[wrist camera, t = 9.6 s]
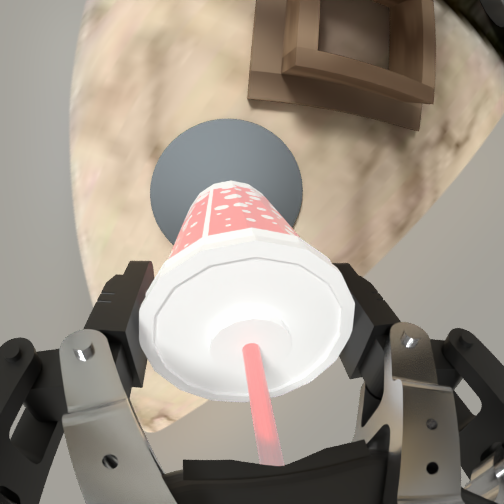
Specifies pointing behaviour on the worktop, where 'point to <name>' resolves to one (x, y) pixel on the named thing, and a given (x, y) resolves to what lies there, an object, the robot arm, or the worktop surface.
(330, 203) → the worktop surface
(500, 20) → the candle holder
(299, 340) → the beverage cup
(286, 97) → the stepped square tray
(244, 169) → the slate coaster
